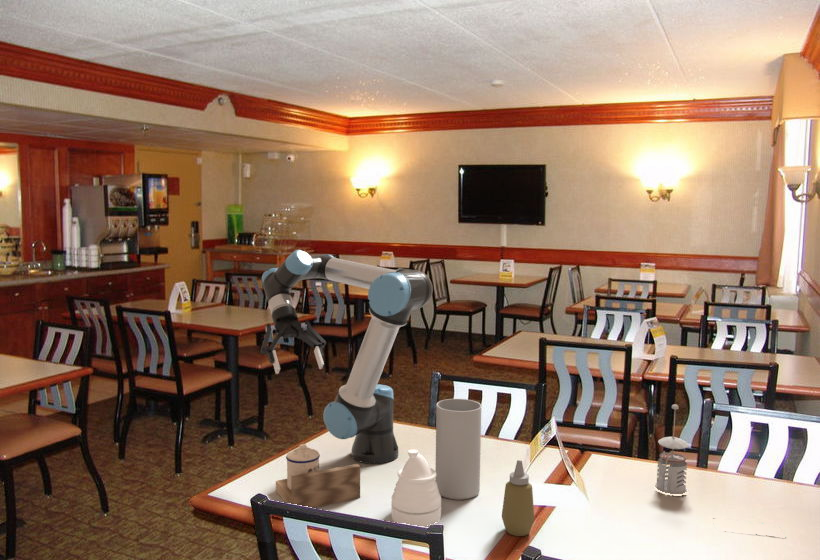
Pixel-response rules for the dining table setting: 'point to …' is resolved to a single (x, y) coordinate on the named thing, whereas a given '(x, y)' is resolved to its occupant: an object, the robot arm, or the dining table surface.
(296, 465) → the teacup with lid
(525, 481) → the squeeze bottle
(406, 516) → the honey pot
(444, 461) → the cylinder vase
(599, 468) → the dining table surface
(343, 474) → the cleat board
